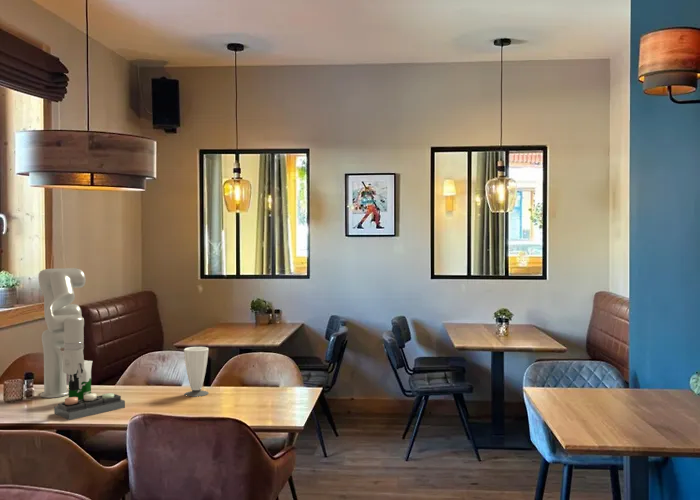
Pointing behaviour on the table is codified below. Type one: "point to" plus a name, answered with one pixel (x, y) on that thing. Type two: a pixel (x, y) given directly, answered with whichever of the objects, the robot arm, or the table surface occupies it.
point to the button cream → (90, 397)
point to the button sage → (107, 395)
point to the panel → (89, 407)
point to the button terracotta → (71, 400)
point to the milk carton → (83, 382)
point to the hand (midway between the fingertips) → (74, 389)
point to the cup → (196, 369)
